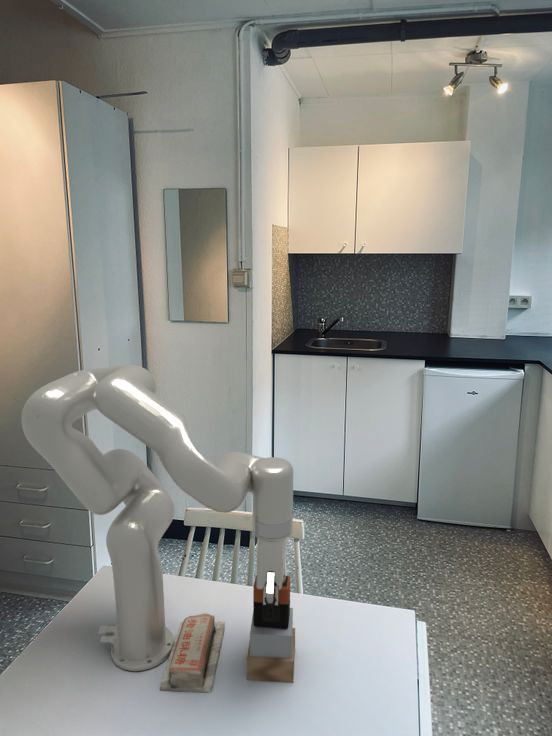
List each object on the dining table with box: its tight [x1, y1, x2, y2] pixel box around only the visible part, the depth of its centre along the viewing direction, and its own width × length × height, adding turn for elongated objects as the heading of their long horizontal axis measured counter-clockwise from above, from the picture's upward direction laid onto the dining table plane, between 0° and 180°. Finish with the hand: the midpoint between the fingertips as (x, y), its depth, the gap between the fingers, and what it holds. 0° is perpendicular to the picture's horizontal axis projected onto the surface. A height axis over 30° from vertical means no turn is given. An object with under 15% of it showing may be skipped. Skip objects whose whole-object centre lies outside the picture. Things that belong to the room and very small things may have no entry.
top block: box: [249, 607, 294, 658], centre depth 106 cm, size 8×8×5 cm
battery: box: [252, 574, 291, 629], centre depth 104 cm, size 4×7×10 cm, turn 84°
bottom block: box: [246, 627, 296, 684], centre depth 107 cm, size 9×9×5 cm
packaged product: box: [159, 612, 226, 694], centre depth 109 cm, size 18×5×10 cm
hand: (272, 603), depth 104 cm, fingers open, 9 cm apart
